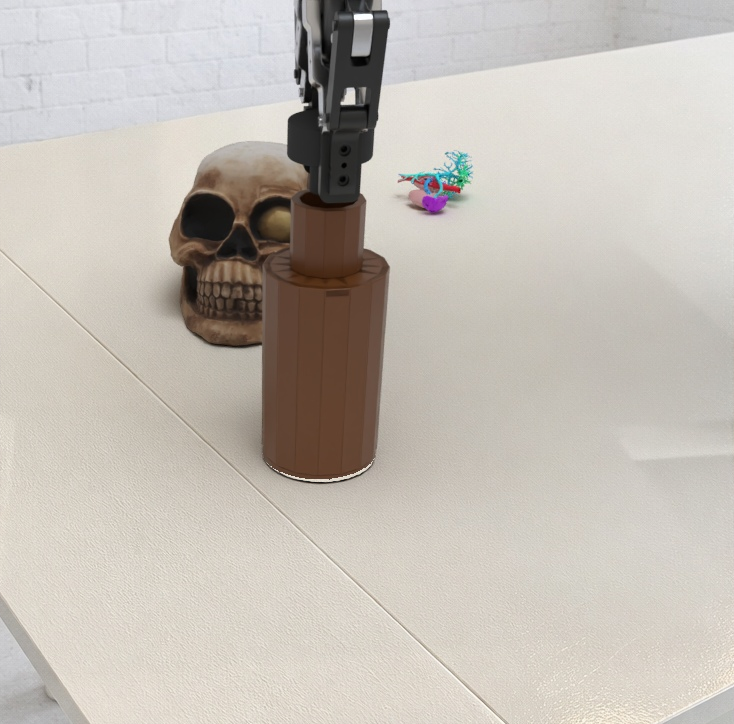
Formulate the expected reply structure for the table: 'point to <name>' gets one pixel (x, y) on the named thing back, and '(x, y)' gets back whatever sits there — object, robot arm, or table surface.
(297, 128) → the bung
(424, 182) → the anatomy model
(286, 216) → the brown skull
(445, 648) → the table surface
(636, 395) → the table surface
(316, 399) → the bottle
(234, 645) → the table surface
